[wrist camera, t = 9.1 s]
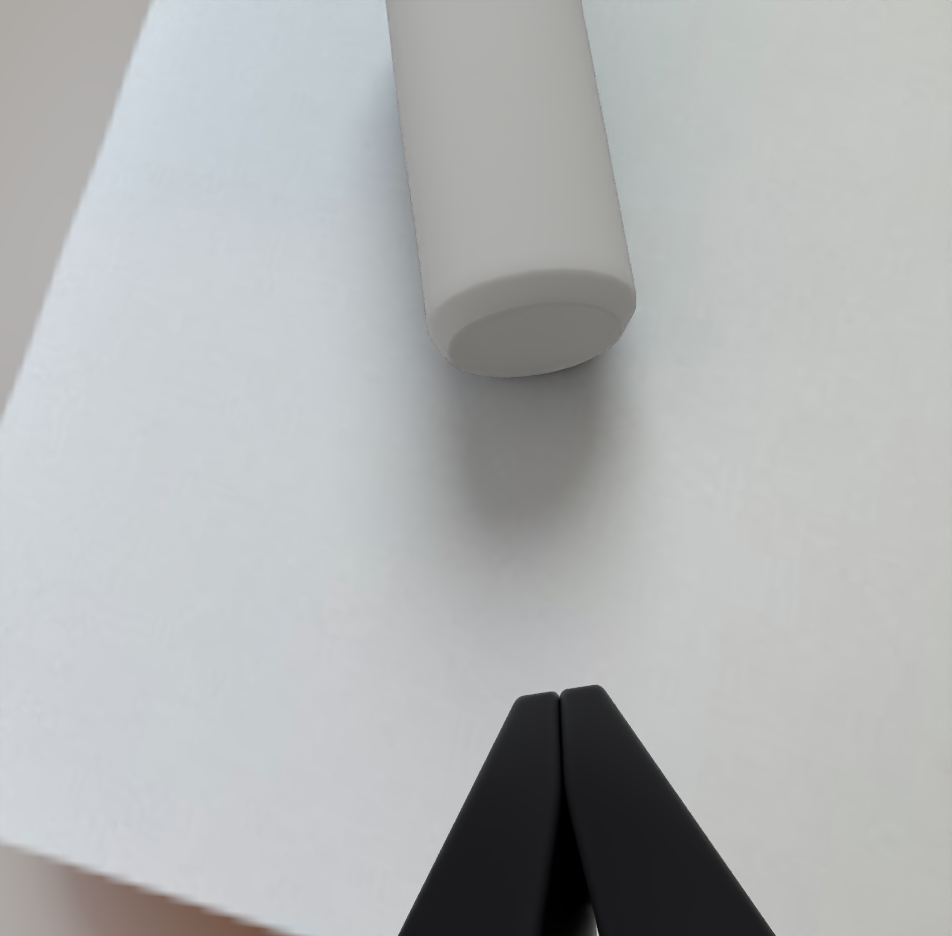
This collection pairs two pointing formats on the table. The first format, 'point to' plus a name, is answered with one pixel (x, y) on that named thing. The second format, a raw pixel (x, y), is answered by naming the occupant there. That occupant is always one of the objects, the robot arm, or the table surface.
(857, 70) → the table surface
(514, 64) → the beverage can
